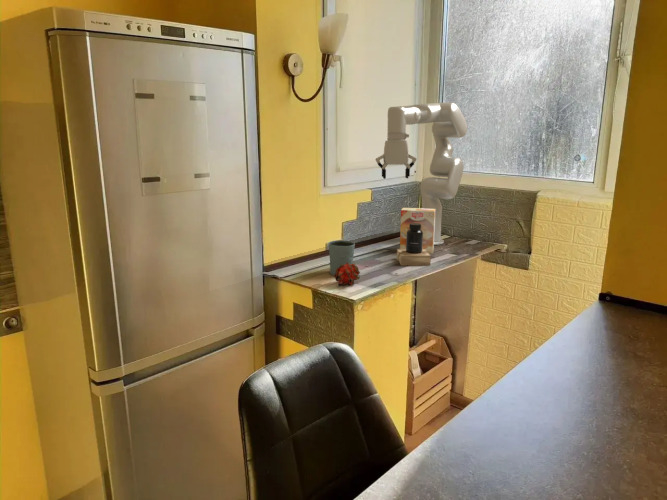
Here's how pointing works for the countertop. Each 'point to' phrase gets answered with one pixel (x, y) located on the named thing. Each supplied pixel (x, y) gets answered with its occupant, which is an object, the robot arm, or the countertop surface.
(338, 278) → the dragon fruit
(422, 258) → the base
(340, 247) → the grey-green cup
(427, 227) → the coffeecake box
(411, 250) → the supplement bottle
